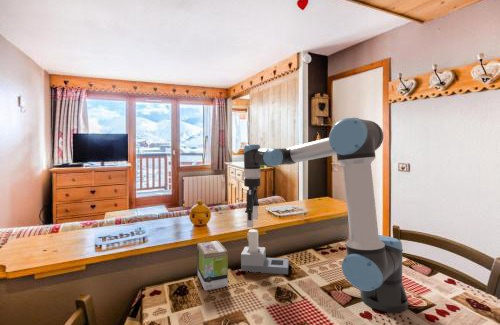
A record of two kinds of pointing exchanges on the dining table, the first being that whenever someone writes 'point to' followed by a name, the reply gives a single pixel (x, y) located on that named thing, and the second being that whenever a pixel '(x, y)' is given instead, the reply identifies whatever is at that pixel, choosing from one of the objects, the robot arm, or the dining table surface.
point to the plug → (253, 240)
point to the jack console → (262, 262)
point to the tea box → (212, 265)
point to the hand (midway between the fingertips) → (252, 223)
